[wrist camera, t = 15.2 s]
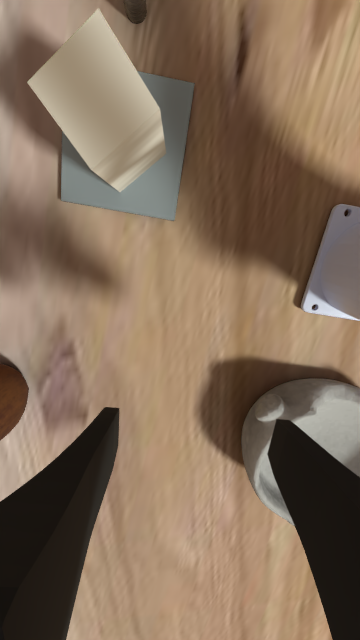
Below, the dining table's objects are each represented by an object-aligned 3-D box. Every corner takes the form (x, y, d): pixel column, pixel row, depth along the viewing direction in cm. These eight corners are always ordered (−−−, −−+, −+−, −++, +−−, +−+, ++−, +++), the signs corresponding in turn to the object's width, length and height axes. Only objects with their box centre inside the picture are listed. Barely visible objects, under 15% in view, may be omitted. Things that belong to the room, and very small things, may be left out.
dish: (228, 381, 23) (241, 419, 18) (384, 355, 22) (441, 387, 17) (245, 494, 27) (259, 549, 22) (375, 476, 26) (418, 528, 22)
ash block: (127, 92, 15) (98, 8, 10) (166, 153, 16) (159, 108, 11) (80, 137, 16) (27, 82, 10) (120, 192, 17) (91, 170, 12)
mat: (194, 86, 16) (194, 83, 15) (174, 221, 18) (174, 220, 18) (66, 60, 15) (63, 55, 15) (63, 201, 18) (61, 200, 17)
